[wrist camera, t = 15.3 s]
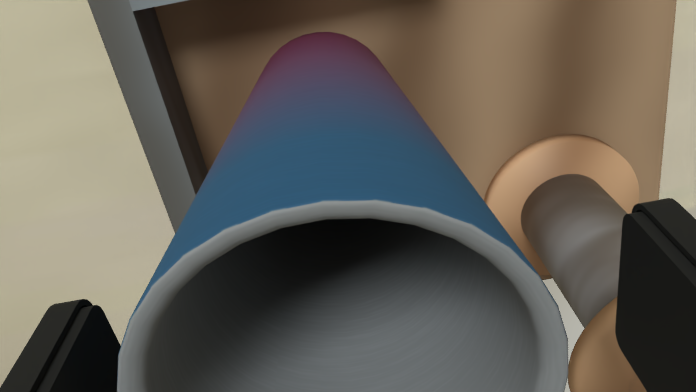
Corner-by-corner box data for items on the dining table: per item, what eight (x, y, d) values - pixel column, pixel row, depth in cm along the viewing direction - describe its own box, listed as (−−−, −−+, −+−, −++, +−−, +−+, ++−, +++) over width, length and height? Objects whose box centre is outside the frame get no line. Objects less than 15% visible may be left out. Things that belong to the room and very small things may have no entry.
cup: (282, -32, 20) (228, 108, 7) (447, 61, 22) (665, 315, 9) (205, 135, 23) (56, 476, 9) (359, 205, 24) (420, 576, 11)
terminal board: (664, -132, 21) (1007, -144, 11) (636, 241, 28) (822, 441, 18) (113, -22, 21) (-58, 65, 11) (231, 317, 29) (194, 552, 19)
